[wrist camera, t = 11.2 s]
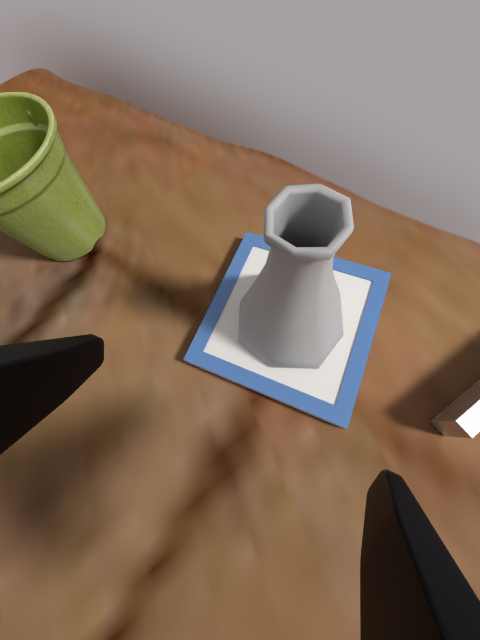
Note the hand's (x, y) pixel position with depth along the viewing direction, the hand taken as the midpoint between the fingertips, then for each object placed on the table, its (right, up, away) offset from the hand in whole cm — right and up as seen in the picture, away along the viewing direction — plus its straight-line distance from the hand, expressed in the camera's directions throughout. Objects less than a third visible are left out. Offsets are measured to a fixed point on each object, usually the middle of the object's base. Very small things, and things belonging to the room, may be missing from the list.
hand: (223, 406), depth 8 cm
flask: (+4, +3, +11) cm, 12 cm away
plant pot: (-14, +10, +17) cm, 24 cm away
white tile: (+4, +2, +12) cm, 13 cm away
